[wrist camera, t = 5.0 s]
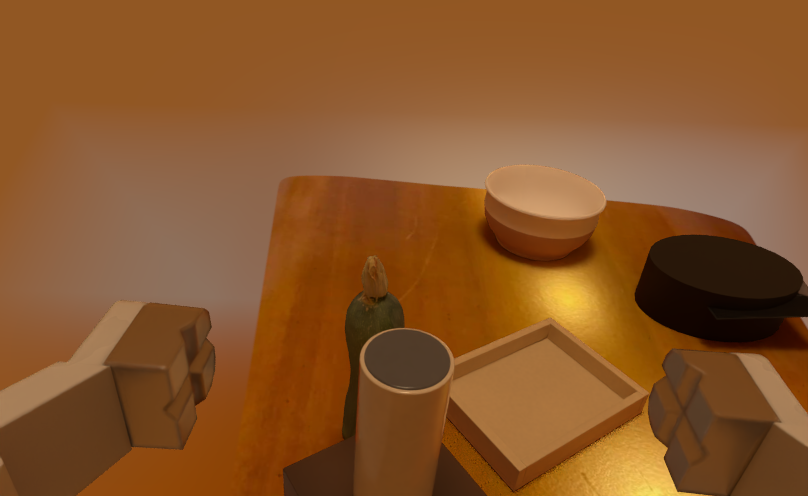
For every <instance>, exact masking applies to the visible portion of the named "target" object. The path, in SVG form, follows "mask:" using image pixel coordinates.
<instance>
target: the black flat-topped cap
mask: <svg viewBox="0 0 808 496" xmlns="http://www.w3.org/2000/svg"><path fill="white" fill-rule="evenodd" d="M635 300H636V302H637V304H638V306H639V307H640V308H641V309H642V310H643V311H644V312H645V313H646V314H647V315H648V316H650V317H651V318H652V319H654V320H655V321H657V322H659V323H661V324H662V325H664V326H666V327H669V328H671V329H673V330H676V331H678V332H681V333H684V334H687V335H691V336H694V337H698V338H703V339H708V340H714V341H722V342H749V341H756V340H760V339H764V338H766V337H769V336H771V335H773V334H774V333H775V332H776V331H777V330H778V329H779V327H780V325H781V323H782V322H783V320H784V318H787V317H808V286H807V285H806V284H805V282H804V281H803V276H802V275H801V273H800V271H799V270H798V269H797V268H796V267H795V266H794V265H793V264H792V263H791V262H789V261H788V260H786V259H785V258H783V257H781V256H779V255H778V254H776V253H774V252H771V251H769V250H766V249H764V248H762V247H759V246H756V245H753V244H750V243H746V242H742V241H738V240H734V239H729V238H724V237H717V236H708V235H680V236H672V237H668V238H665V239H662V240H660V241H658V242H656V243H655V244H654V245H653V246H652V247H651V249H650V251H649V254H648V257H647V260H646V263H645V266H644V269H643V272H642V274H641V277H640V280H639V283H638V286H637V289H636V292H635Z"/></svg>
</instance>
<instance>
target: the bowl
mask: <svg viewBox="0 0 808 496" xmlns="http://www.w3.org/2000/svg"><path fill="white" fill-rule="evenodd" d="M485 186H486V190H487V193H486V197H485V216H486V219H487V221H488V224H489V227H490V228H491V230H492V231H493V232H494V234H495V237H496V239H497V241H498V242H499V244H500V245H501V246H502V247H504V248H505V249H506V250H508V251H509V252H511V253H514V254H516V255H518V256H521V257H524V258H528V259H532V260H540V261H551V260H558V259H561V258H564V257H566V256H567V255H569V254H570V252H571V251H573V250H575V249H577V248H579V247H580V246H581V245H583V244H584V243H585V242H586V241H587V240H588V239H589V238H590V237H591V235H592V234H593V232H594V230H595V228H596V226H597V224H598V219H599V214H600V213H601V212H602V211H603V210H604V208H605V207H606V198H605V196H604V194H603V192H602V191H601V190H600V189H599V188H598V187H597V186H596V185H594V184H593V183H591V182H590V181H588V180H586V179H584V178H582V177H580V176H578V175H576V174H573V173H570V172H567V171H563V170H560V169H556V168H551V167H546V166H537V165H512V166H506V167H502V168H499V169H497V170H495V171H493V172H491V173H490V174H489V175H488V177H487V178H486V180H485Z"/></svg>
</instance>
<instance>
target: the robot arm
mask: <svg viewBox="0 0 808 496" xmlns="http://www.w3.org/2000/svg"><path fill="white" fill-rule="evenodd" d="M210 329H211V321H210V315H209V312H208V311H207V310H206V309H204V308H196V307H187V306H177V305H168V304H159V303H145V302H135V301H126V300H120V301H118V302H116V303H114V304H113V305H112V306H111V307H110V309H109V310H108V311H107V313H106V314H105V315H104V316H103V318H102V319H101V320H100V321H99V323H98V324H97V325H96V327H95V328H94V329H93V331H92V332H91V333H90V334H89V336H88V337H87V338H86V339H85V341H84V342H83V343H82V344H81V346H80V347H79V348H78V350H77V351H76V352H75V353H74V355H73V356H72V357H71V359H70V360H69V361H68V362H57V363H55V364H53V365H51V366H49V367H47V368H45V369H43V370H41V371H39V372H37V373H35V374H33V375H31V376H29V377H27V378H25V379H23V380H21V381H19V382H17V383H15V384H13V385H11V386H9V387H7V388H5V389H3V390H1V391H0V496H76V495H77V494H78V493H79V492H81V491H82V490H83V489H84V488H86V487H87V486H88V485H89V484H90V483H92V482H93V481H94V480H95V479H97V478H98V477H99V476H100V475H101V474H103V473H104V472H105V471H106V470H108V469H109V468H110V467H111V466H112V465H114V464H115V463H116V462H117V461H119V460H120V459H121V458H122V457H123V456H125V455H126V454H127V453H128V452H130V451H131V449H132V448H131V447H146V448H162V449H163V448H164V449H180V450H183V448H184V446H185V444H186V441H187V440H188V437H189V435H190V433H191V431H192V429H193V426H194V424H195V422H196V420H197V415H196V408H195V406H196V405H197V404H199V403H200V402H202V401H203V400H205V399H206V397H207V395H208V392H209V390H210V388H211V385H212V381H213V376H214V372H215V349H214V346H213V345H212V344H211V343H210V341H209V340H208V339H207V338H206V337H207V335H208V333H209V331H210ZM662 367H663V369H664V371H665V373H666V376H665V377H663V378H662V379H660V380H659V381H657V382H656V383H655V384H654V385H653V388H652V391H651V394H650V396H649V406H648V415H649V421H650V425H651V428H652V431H653V433H654V436H655V437H656V438H657V439H658V440H659V441H660V442H662V443H663V444H664V445H665V446H666V447H667V448H668V450H667V452H666V454H665V456H664V460H665V463H666V465H667V467H668V470H669V472H670V475H671V477H672V480H673V482H674V484H675V487H676V489H677V492H686V493H695V494H704V495H712V496H808V414H807V413H806V412H805V410H804V409H803V408H802V406H801V405H800V403H799V402H798V401H797V399H796V398H795V396H794V395H793V394H792V392H791V391H790V390H789V388H788V387H787V385H786V384H785V383H784V381H783V380H782V378H781V377H780V376H779V374H778V373H777V372H776V370H775V369H774V367H773V366H772V365H771V363H770V362H769V361H768V359H766V358H765V357H763V356H762V355H760V354H746V353H721V352H709V351H696V350H684V349H672V350H671V351H670V352H669V353H668V354H667V355H666V357H665V359H664V361H663V364H662Z"/></svg>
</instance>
